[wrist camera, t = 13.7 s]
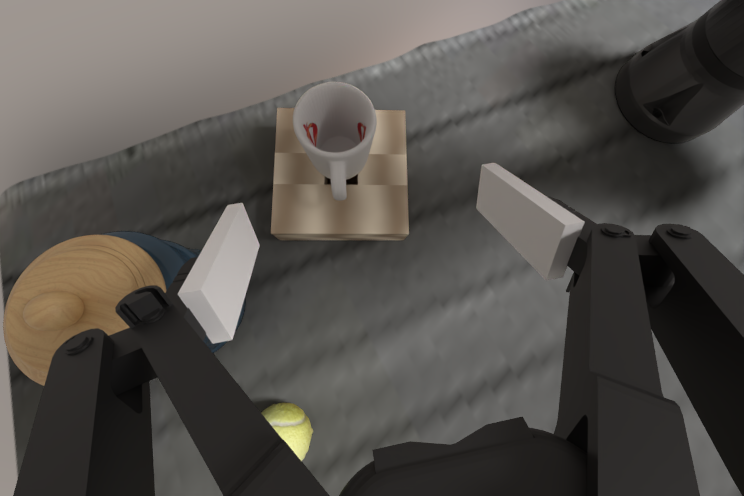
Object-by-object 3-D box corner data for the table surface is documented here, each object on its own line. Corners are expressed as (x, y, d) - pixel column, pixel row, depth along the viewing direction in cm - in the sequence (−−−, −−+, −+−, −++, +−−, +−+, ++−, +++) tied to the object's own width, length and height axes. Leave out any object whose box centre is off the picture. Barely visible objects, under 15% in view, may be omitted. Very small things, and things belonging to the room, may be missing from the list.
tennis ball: (242, 417, 27) (235, 498, 26) (314, 413, 28) (310, 490, 27) (256, 395, 33) (250, 459, 32) (314, 393, 35) (311, 454, 33)
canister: (116, 322, 34) (-134, 350, 17) (184, 233, 36) (24, 174, 19) (205, 381, 34) (42, 472, 16) (269, 286, 36) (185, 276, 18)
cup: (375, 210, 34) (381, 184, 26) (308, 213, 33) (292, 187, 26) (370, 127, 36) (374, 79, 28) (306, 129, 35) (291, 80, 27)
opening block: (400, 128, 40) (405, 110, 36) (403, 240, 38) (408, 233, 34) (285, 126, 39) (277, 107, 35) (280, 240, 37) (270, 233, 33)
